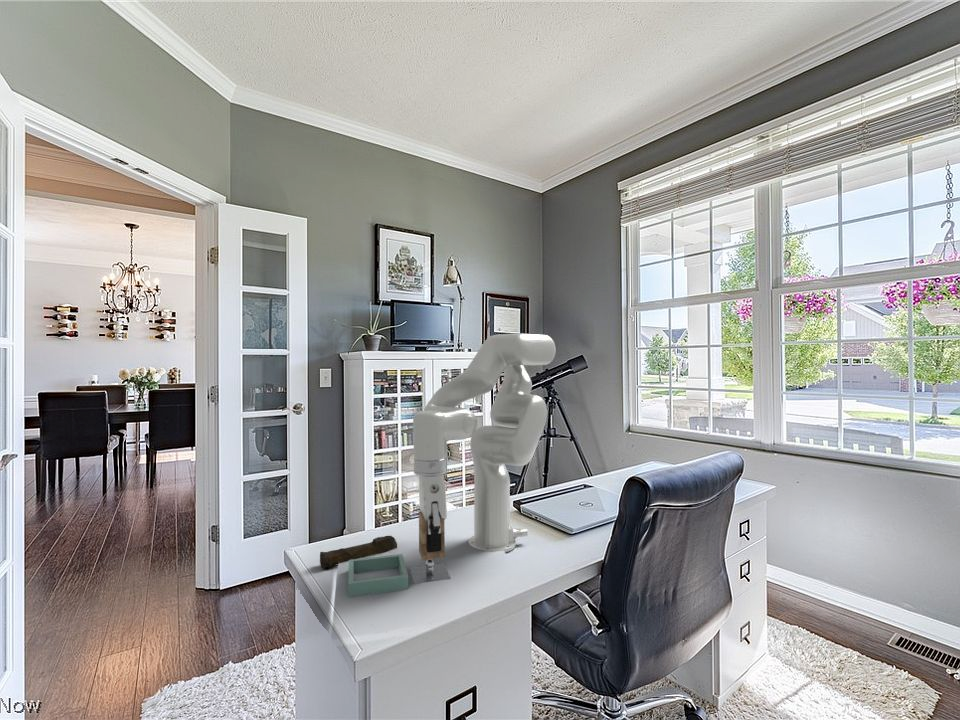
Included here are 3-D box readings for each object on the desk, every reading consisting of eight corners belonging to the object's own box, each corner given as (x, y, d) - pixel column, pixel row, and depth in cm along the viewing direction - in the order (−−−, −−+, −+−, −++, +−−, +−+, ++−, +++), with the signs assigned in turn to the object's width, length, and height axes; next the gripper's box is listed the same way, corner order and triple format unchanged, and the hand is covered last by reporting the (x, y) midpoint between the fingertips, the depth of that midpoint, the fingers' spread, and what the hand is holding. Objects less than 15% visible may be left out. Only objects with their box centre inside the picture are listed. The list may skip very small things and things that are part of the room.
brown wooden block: (440, 548, 104) (440, 509, 104) (444, 557, 100) (444, 516, 100) (419, 550, 103) (418, 511, 103) (422, 559, 98) (421, 518, 98)
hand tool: (321, 572, 104) (321, 552, 104) (318, 566, 107) (319, 546, 107) (400, 556, 113) (400, 538, 113) (395, 551, 116) (395, 532, 116)
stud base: (443, 567, 106) (443, 550, 106) (450, 583, 98) (450, 564, 98) (409, 571, 103) (409, 554, 104) (414, 588, 96) (414, 569, 96)
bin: (402, 569, 105) (402, 553, 105) (408, 593, 93) (408, 576, 94) (348, 575, 102) (349, 559, 102) (348, 601, 90) (348, 584, 90)
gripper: (454, 473, 94) (456, 559, 94) (440, 456, 111) (441, 530, 111) (419, 476, 92) (420, 564, 92) (409, 459, 109) (410, 534, 109)
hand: (431, 545), depth 101 cm, fingers closed on brown wooden block, 5 cm apart
